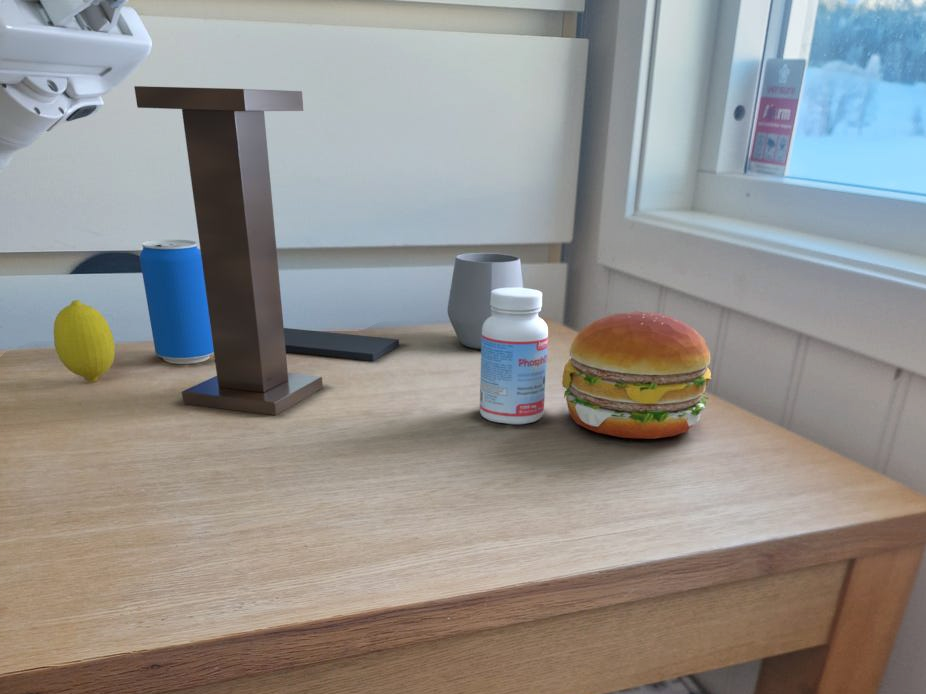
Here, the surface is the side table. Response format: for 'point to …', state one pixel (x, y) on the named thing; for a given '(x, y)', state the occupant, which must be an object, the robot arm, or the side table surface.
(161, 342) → the beverage can
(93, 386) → the side table surface
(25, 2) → the robot arm
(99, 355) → the lemon
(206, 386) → the stand
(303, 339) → the dark grey flat slab
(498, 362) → the pill bottle
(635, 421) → the burger
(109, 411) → the side table surface
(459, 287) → the cup
